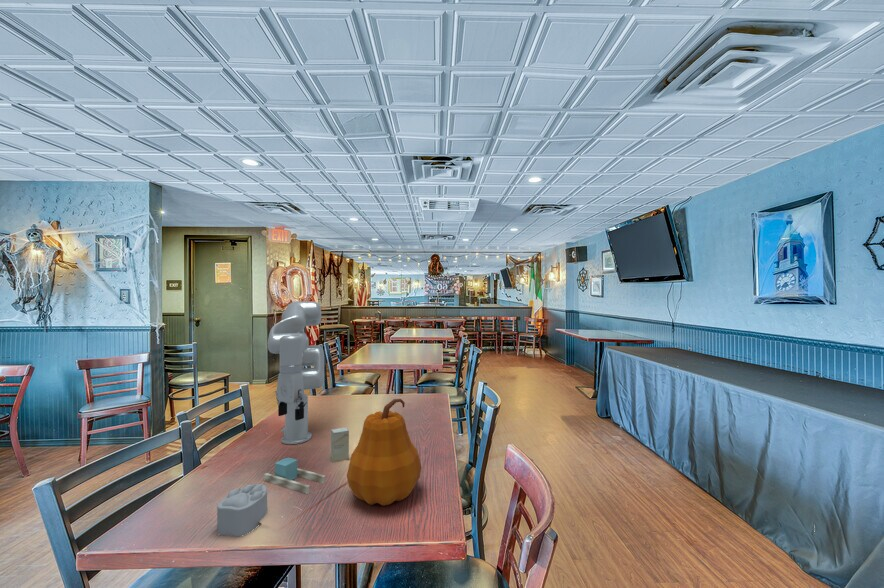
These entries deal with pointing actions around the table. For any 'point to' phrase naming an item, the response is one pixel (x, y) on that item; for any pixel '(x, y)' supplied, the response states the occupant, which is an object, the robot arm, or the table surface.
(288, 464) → the block
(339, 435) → the skincare box
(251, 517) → the lumpy-topped squat cylinder
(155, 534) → the table surface
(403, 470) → the decorative pumpkin
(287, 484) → the twin rail frame
